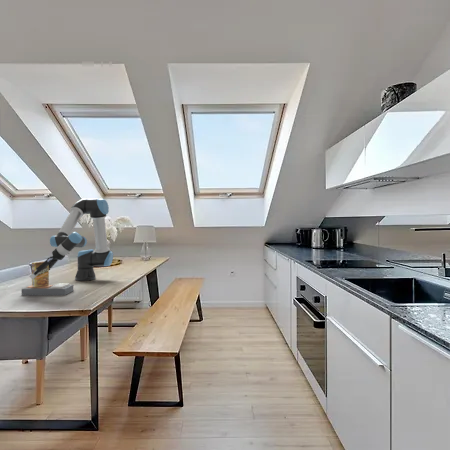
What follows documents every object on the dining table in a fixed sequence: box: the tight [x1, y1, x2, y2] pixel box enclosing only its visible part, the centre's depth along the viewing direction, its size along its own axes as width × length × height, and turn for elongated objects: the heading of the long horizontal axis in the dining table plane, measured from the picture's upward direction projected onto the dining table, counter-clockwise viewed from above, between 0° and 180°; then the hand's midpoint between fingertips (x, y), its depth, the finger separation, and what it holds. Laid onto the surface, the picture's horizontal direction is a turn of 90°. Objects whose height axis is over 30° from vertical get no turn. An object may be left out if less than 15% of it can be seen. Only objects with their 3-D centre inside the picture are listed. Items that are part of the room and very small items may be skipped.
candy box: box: [31, 260, 50, 287], centre depth 221 cm, size 9×4×15 cm, turn 146°
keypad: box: [21, 282, 74, 296], centre depth 222 cm, size 14×26×5 cm, turn 93°
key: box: [26, 284, 54, 288], centre depth 222 cm, size 8×13×2 cm, turn 93°
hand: (35, 276), depth 221 cm, fingers closed on candy box, 9 cm apart
